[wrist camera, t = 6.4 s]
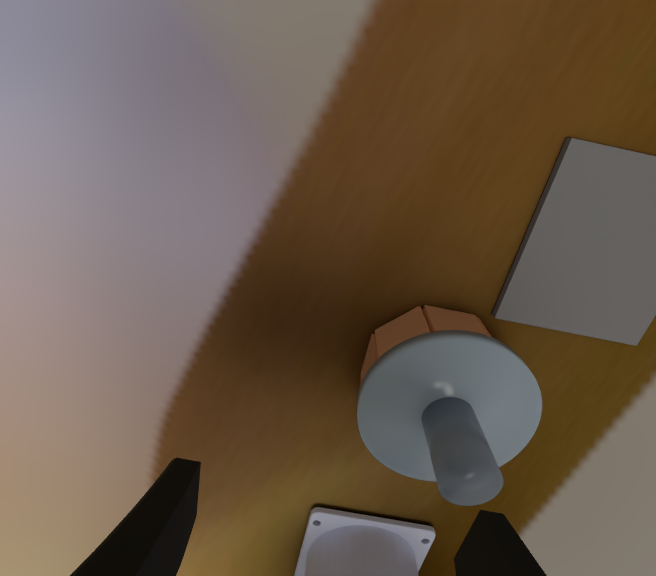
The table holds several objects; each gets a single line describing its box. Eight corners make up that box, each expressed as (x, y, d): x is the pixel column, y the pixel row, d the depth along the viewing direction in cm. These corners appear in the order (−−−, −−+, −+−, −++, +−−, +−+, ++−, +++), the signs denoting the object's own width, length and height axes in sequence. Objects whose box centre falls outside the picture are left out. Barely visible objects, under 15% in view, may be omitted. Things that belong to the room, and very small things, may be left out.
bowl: (469, 425, 21) (487, 471, 19) (351, 404, 21) (352, 447, 18) (516, 322, 19) (545, 358, 16) (382, 296, 18) (388, 328, 16)
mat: (630, 341, 19) (636, 345, 18) (491, 314, 18) (494, 318, 18) (733, 173, 15) (742, 175, 15) (566, 137, 15) (572, 137, 15)
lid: (489, 481, 19) (524, 568, 15) (338, 448, 18) (336, 532, 15) (566, 353, 16) (633, 426, 12) (385, 310, 15) (399, 372, 12)
